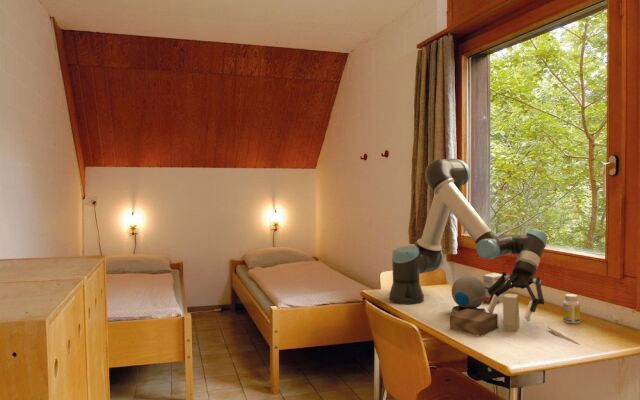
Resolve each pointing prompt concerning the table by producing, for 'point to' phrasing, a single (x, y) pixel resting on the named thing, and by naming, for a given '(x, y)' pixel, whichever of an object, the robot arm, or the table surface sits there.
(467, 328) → the walnut plinth
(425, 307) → the table surface
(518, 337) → the table surface
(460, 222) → the robot arm
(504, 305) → the skincare box
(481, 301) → the webcam
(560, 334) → the beige slender tapered piece
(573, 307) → the supplement bottle
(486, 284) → the ink box
